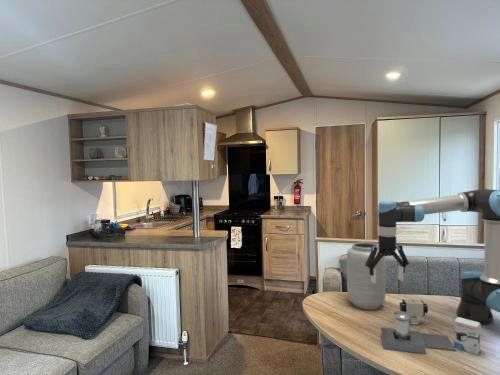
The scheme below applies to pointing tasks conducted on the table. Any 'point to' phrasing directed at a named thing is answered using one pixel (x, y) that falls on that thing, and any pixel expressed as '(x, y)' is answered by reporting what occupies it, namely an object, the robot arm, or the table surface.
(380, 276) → the vase
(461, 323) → the ink box
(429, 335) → the mat
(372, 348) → the table surface
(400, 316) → the grey bottle
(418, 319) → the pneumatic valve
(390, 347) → the frame
